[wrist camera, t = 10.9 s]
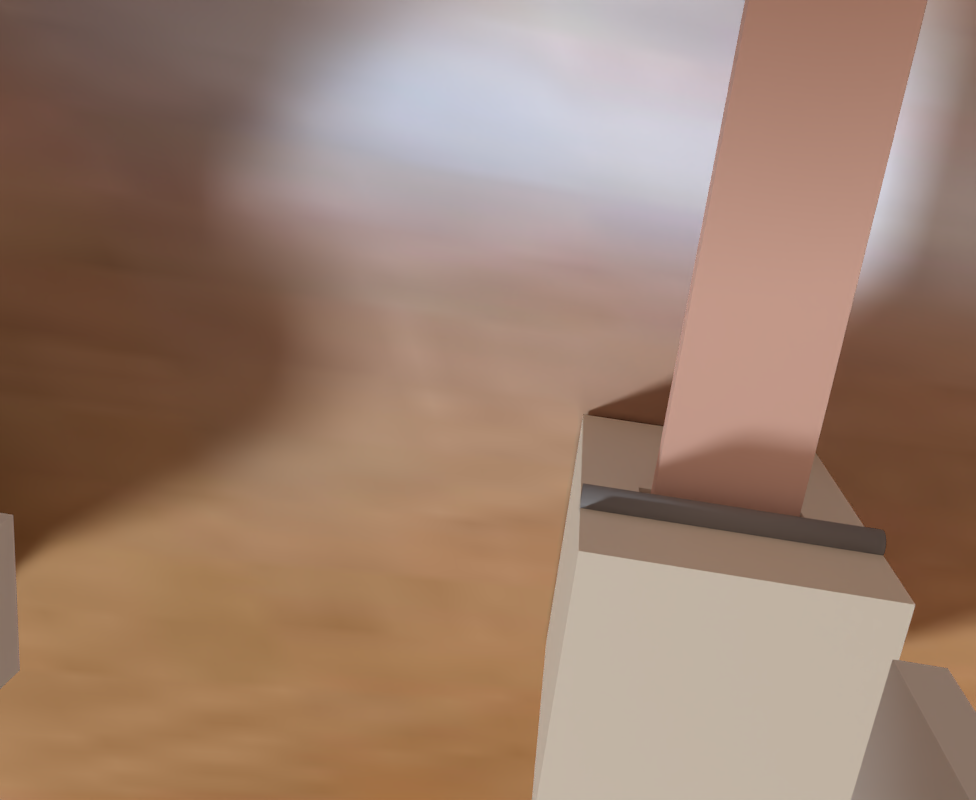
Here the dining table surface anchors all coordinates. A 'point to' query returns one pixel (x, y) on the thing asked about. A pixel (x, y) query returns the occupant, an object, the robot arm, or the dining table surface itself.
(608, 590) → the block
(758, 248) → the ticket strip
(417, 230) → the dining table surface
